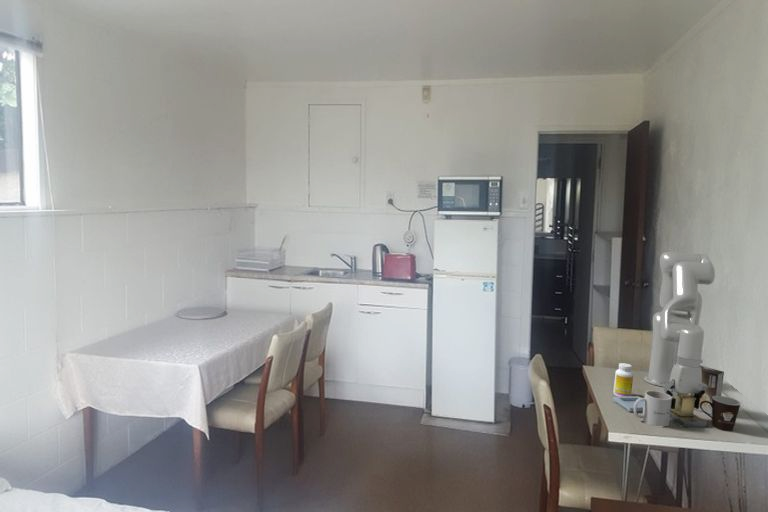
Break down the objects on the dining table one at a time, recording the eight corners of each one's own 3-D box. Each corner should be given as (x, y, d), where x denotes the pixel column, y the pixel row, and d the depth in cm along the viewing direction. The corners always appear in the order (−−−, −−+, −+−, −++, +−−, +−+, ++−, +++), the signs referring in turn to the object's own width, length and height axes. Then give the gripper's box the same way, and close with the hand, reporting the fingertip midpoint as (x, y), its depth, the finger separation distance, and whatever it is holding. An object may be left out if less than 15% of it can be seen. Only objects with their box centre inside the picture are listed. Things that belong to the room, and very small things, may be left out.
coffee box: (720, 412, 209) (725, 371, 207) (713, 415, 205) (719, 374, 203) (694, 404, 216) (699, 364, 214) (687, 407, 212) (692, 367, 210)
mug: (664, 418, 199) (667, 392, 198) (671, 428, 191) (675, 401, 190) (628, 414, 202) (631, 388, 200) (634, 423, 193) (637, 396, 192)
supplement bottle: (632, 399, 217) (636, 368, 215) (614, 397, 218) (618, 366, 217) (628, 393, 223) (632, 363, 222) (611, 391, 225) (614, 361, 223)
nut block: (682, 415, 203) (685, 392, 202) (693, 422, 198) (696, 398, 196) (669, 416, 202) (672, 392, 201) (679, 422, 197) (682, 398, 196)
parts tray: (638, 400, 216) (638, 396, 216) (656, 411, 205) (656, 407, 205) (612, 400, 214) (613, 396, 214) (629, 412, 203) (630, 407, 203)
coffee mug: (738, 427, 195) (742, 400, 193) (734, 434, 188) (738, 407, 187) (702, 417, 202) (705, 391, 201) (696, 424, 196) (700, 397, 195)
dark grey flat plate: (665, 402, 215) (665, 397, 215) (706, 427, 194) (706, 421, 193) (644, 403, 214) (644, 398, 213) (683, 427, 192) (684, 421, 192)
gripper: (702, 359, 202) (696, 403, 204) (660, 358, 199) (654, 403, 201) (717, 365, 195) (711, 411, 197) (674, 365, 192) (668, 411, 194)
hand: (682, 407), depth 199 cm, fingers open, 9 cm apart
